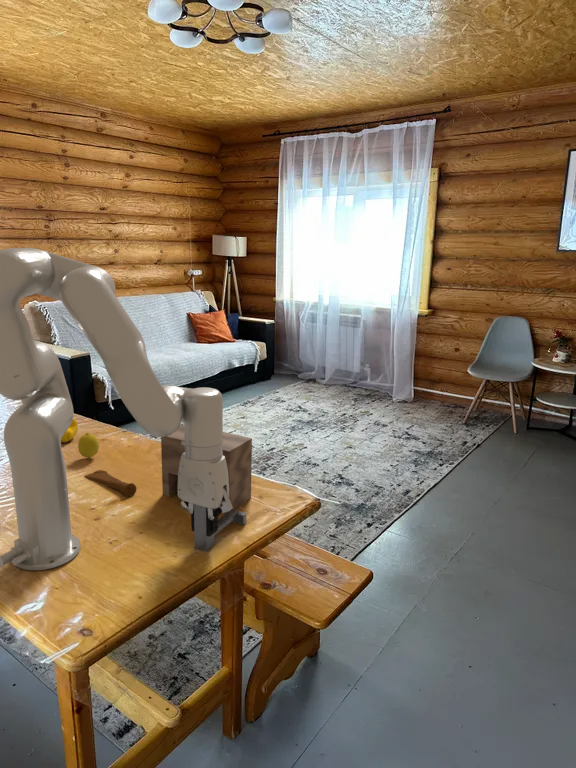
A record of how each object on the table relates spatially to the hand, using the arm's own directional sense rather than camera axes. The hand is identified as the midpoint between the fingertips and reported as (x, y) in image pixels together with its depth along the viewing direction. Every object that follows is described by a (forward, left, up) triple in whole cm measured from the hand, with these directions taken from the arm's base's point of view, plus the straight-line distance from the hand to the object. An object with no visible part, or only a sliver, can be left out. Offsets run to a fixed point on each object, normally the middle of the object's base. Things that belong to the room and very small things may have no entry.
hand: (204, 530), depth 111 cm
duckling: (+27, +73, -4) cm, 78 cm away
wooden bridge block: (+19, +13, -4) cm, 23 cm away
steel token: (+13, +13, -4) cm, 19 cm away
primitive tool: (+12, +39, -4) cm, 41 cm away
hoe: (+6, 0, -4) cm, 7 cm away
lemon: (+21, +56, -4) cm, 60 cm away
